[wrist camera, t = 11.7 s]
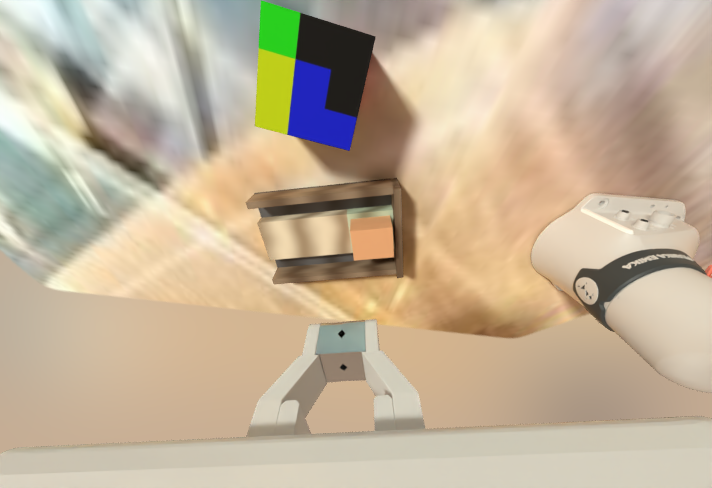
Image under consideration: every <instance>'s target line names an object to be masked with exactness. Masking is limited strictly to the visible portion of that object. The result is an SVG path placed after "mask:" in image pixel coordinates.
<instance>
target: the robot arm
mask: <svg viewBox="0 0 712 488" xmlns="http://www.w3.org/2000/svg"><path fill="white" fill-rule="evenodd" d="M685 212H686V211H685V205H684V203H682V202H680V201H677V200H670V199H659V198H647V197H635V196H624V195H612V194H600V193H592V194H590V195H588V196H586V197H585V198H584V199H583V200H582V201H581V202H580V203H579V204H578V205H577V206H576V207H575V208H574V209H572V210H571V211H569V212H568V213H566V214H564V215H563V216H561V217H559V218H558V219H556V220H555V221H553V222H552V223H551V224H550V225H548V226H547V227H546V228H545V229H544V230H543V232H542V233H541V234H540V235H539V237H538V238H537V240H536V242H535V244H534V246H533V249H532V253H531V261H532V265H533V267H534V269H535V270H536V271H537V272H538V273H539V274H541V275H542V276H544V277H546V278H547V279H549V280H550V281H551V283H552V284H553V286H554V287H555V288H557V289H558V290H560V291H564V292H566V293H567V294H568V295H569V296H571V297H572V298H573V299H575V300H576V301H577V302H578V303H580V304H581V305H582V306H584V307H585V308H586V310H587V311H588V312H589V313H590V314H591V315H593V316H594V317H595V318H596V320H597V321H598V322H599V323H601V324H602V325H603V326H605V327H606V328H607V329H609V330H610V331H613V332H616V333H617V334H618V335H619V336H620V337H621V338H622V339H623V340H624V341H625V342H626V343H627V344H628V345H630V347H632V349H634V350H635V351H636V352H637V353H638V354H639V355H640V356H641V357H642V358H643V359H644V360H645V361H646V362H647V363H648V364H649V365H650V366H651V367H653V368H654V369H655V370H656V371H657V372H658V373H659V374H661V375H662V376H664V377H665V378H667V379H669V380H671V381H672V382H675V383H677V384H679V385H681V386H684V387H686V388H689V389H693V390H697V391H701V392H708V393H712V276H710V275H711V274H712V265H710V266H708V268H707V269H706V271H704V270H703V269H702V268H701V267H700V266H699V265H698V264H697V263H696V262H695V261H694V260H693V259H694V256H695V254H696V251H697V249H698V246H699V241H700V237H699V233H698V231H697V230H696V228H694V227H693V226H691V225H689V224H687V223H685V222H684V219H685ZM352 380H353V381H354V380H366V382H367V383H368V385H369V386H370V388H371V390H372V391H373V393H374V395H375V396H376V397H375V399H374V419H375V431H368V432H348V433H347V432H345V433H323V434H311V432H310V430H309V427H308V425H307V422H306V419H305V418H306V416H307V414H308V413H309V411H310V410H311V408H312V406H313V405H314V403H315V402H316V400H317V398H318V397H319V395H320V394H321V392H322V391H323V389H324V387H325V386H326V384H327V383H326V382H337V381H352ZM0 488H712V418H708V417H702V416H688V417H687V416H686V417H668V418H647V419H626V420H605V421H584V422H563V423H541V424H522V425H521V424H520V425H499V426H478V427H455V428H434V429H425V425H424V420H423V415H422V410H421V405H420V400H419V395H418V392H417V391H416V390H415V388H414V387H413V386H412V385H411V384H410V383H409V381H408V380H407V379H406V378H405V377H404V376H403V374H402V373H401V372H400V371H399V370H398V368H397V367H396V366H395V365H394V364H393V362H391V360H390V359H389V358H388V357H387V355H385V353H384V352H383V351H380V349H379V338H378V328H377V320H376V319H374V320H361V321H349V322H338V323H321V324H310V325H309V327H308V331H307V335H306V340H305V345H304V350H303V354H302V356H299V357H298V358H297V359H296V360H295V361H294V362H293V363H292V364H291V365H290V366H289V368H288V369H287V370H286V371H285V372H284V373H283V374H282V375H281V376H280V377H279V378H278V380H277V381H276V382H275V383H274V384H273V385H272V386H271V387H270V388H269V390H268V391H267V392H266V393H265V394H264V395H263V396H262V397H261V398H260V399H259V401H258V403H257V406H256V409H255V412H254V415H253V418H252V421H251V424H250V427H249V430H248V433H247V436H246V437H237V438H216V439H197V440H196V439H195V440H194V439H193V440H172V441H150V442H129V443H107V444H85V445H63V446H41V447H22V448H14V449H11V450H7V451H5V452H3V453H1V454H0Z"/></svg>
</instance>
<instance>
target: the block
mask: <svg viewBox="0 0 712 488" xmlns="http://www.w3.org/2000/svg"><path fill="white" fill-rule="evenodd" d="M350 236H351V243H352V250H353V257H354V261H356V260H368V259H379V258H391V257H394V246H393V227H392V223H391V219H390V215H389V216H379V217H369V218H358V219H351V222H350Z"/></svg>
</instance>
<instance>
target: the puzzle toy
mask: <svg viewBox="0 0 712 488" xmlns="http://www.w3.org/2000/svg"><path fill="white" fill-rule="evenodd" d="M374 41H375V36H372V35H369V34H366V33H362V32H359V31H356V30H353V29H350V28H347V27H343V26H340V25H337V24H334V23H331V22H328V21H324V20H321V19H318V18H315V17H312V16H309V15H305V14H302V13H299V12H296V11H293V10H290V9H286V8H283V7H280V6H277V5H274V4H271V3H267V2H264V1H261V11H260V32H259V53H258V73H257V94H256V115H255V126H256V127H260V128H264V129H267V130H271V131H275V132H279V133H283V134H287V135H291V136H294V137H298V138H302V139H306V140H310V141H314V142H317V143H321V144H325V145H329V146H333V147H337V148H340V149H344V150H348V151H350V147H351V142H352V138H353V133H354V129H355V125H356V120H357V116H358V112H359V107H360V103H361V98H362V94H363V90H364V85H365V81H366V76H367V72H368V68H369V63H370V59H371V54H372V50H373V46H374Z"/></svg>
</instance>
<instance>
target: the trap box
mask: <svg viewBox="0 0 712 488" xmlns="http://www.w3.org/2000/svg"><path fill="white" fill-rule="evenodd" d="M246 205H247V208H248V209H254V208H259V211H260V214H261V217H262V218H261V219H260V221H259V222H258V226H259V229H260V232H261V235H262V238H263V241H264V244H265V247H266V250H267V253H268V256H269V259H270V260H275V261H276V264H277V267H278V268H277V270H276V273H275V275H274V277H273V279H272V280H273V283H274V284H284V283H296V282H308V281H320V280H332V279H344V278H356V277H368V276H380V275H392V274H397V278H402V277H403V241H402V199H401V187H400V185H399V183H398V180H397V178H393V179H384V180H374V181H365V182H355V183H346V184H336V185H327V186H317V187H308V188H299V189H289V190H280V191H270V192H261V193H255V194H254V195H253V196H252V197H251V198H250V199H249V200H248V201H247V202H246ZM389 215H390V219H391V223H392V227H393V246H394V257H391V258H379V259H368V260H356V261H354V257H353V250H352V243H351V236H350V222H351V219H358V218H369V217H379V216H389Z"/></svg>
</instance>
